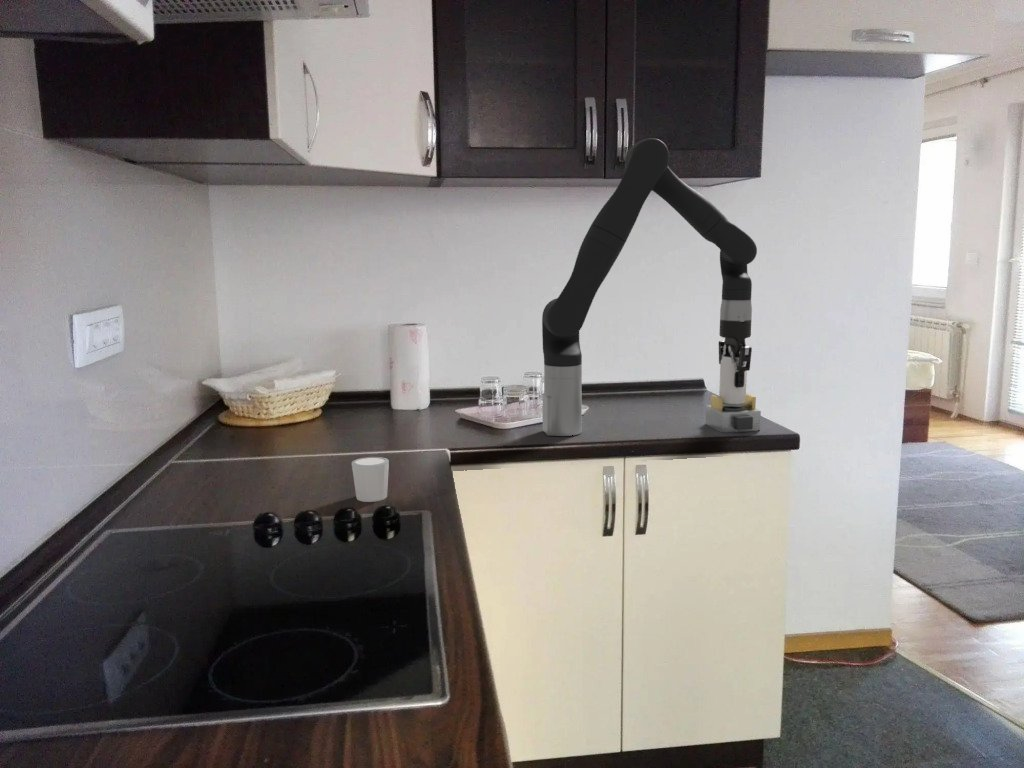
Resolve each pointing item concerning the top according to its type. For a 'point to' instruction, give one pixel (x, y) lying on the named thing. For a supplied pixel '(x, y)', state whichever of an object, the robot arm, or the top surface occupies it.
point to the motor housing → (733, 415)
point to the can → (731, 383)
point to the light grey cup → (370, 478)
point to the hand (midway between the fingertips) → (733, 384)
